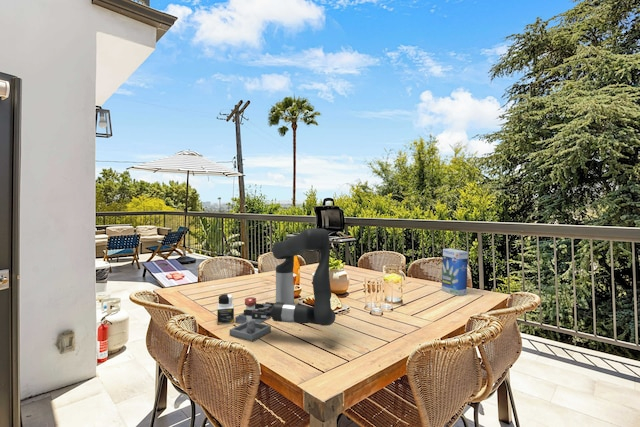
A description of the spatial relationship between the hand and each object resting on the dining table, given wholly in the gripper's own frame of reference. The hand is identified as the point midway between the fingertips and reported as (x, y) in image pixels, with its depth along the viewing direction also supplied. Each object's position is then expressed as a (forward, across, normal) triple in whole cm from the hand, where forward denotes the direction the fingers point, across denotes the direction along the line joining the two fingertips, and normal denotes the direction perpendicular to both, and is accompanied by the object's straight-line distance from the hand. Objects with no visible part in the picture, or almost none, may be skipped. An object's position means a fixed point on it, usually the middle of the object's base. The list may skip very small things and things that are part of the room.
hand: (248, 309), depth 145 cm
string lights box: (-90, -91, +11) cm, 128 cm away
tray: (-1, 0, +10) cm, 10 cm away
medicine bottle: (+17, -10, +10) cm, 22 cm away
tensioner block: (+5, -15, +10) cm, 19 cm away
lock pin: (-1, 0, +10) cm, 10 cm away
